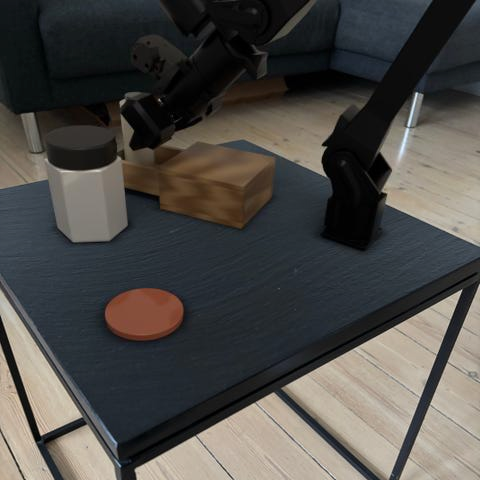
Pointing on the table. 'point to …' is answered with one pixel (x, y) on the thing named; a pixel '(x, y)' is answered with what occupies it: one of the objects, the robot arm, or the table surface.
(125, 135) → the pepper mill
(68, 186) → the jar
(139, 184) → the drawer
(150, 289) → the disc
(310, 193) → the table surface
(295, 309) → the table surface
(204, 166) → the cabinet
